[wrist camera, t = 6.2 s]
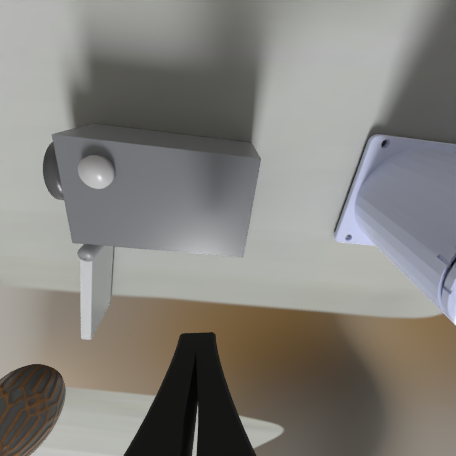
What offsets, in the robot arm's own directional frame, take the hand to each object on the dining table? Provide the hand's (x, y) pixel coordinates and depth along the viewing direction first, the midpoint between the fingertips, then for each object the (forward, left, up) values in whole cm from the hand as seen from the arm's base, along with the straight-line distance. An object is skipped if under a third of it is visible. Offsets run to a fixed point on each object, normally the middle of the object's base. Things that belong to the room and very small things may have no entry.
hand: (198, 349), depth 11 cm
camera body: (+3, -4, -10) cm, 11 cm away
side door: (+8, +4, -10) cm, 13 cm away
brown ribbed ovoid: (+16, +20, -11) cm, 28 cm away
